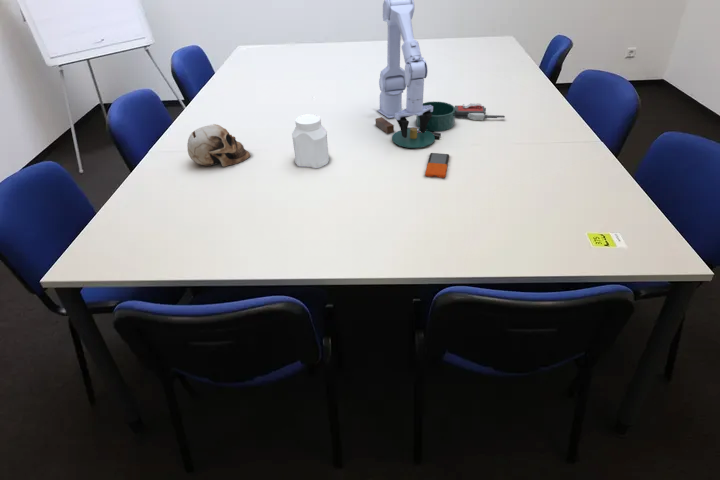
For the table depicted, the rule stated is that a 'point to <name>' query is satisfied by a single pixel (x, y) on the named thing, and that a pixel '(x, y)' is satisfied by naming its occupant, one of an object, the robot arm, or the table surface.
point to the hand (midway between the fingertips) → (413, 134)
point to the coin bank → (215, 147)
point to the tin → (439, 116)
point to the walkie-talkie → (473, 112)
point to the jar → (310, 142)
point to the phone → (437, 165)
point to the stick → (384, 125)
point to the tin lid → (413, 138)
